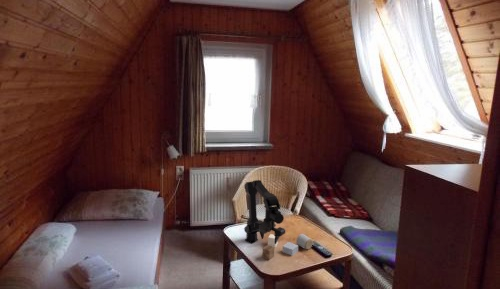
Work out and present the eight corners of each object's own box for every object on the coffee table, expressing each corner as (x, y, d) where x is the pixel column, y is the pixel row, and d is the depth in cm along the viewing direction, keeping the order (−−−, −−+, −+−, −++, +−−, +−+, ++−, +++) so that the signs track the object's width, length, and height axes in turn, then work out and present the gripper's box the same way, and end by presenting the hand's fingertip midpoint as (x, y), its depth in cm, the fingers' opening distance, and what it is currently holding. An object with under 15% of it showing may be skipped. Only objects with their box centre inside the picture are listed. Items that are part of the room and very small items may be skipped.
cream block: (267, 245, 213) (268, 237, 212) (270, 242, 218) (270, 234, 216) (275, 247, 211) (275, 238, 210) (277, 244, 216) (278, 235, 215)
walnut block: (262, 257, 199) (262, 248, 198) (267, 254, 203) (267, 245, 202) (269, 260, 197) (269, 250, 195) (273, 256, 200) (274, 247, 199)
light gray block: (282, 252, 206) (282, 246, 205) (288, 247, 212) (288, 241, 211) (292, 255, 202) (292, 249, 201) (297, 251, 208) (298, 245, 207)
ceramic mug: (305, 251, 208) (306, 240, 206) (295, 246, 214) (296, 235, 212) (316, 246, 214) (317, 235, 213) (306, 241, 220) (307, 231, 219)
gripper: (249, 216, 194) (248, 241, 197) (276, 226, 183) (274, 252, 186) (260, 210, 203) (259, 234, 206) (286, 219, 192) (285, 244, 195)
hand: (268, 241), depth 198 cm, fingers open, 9 cm apart
